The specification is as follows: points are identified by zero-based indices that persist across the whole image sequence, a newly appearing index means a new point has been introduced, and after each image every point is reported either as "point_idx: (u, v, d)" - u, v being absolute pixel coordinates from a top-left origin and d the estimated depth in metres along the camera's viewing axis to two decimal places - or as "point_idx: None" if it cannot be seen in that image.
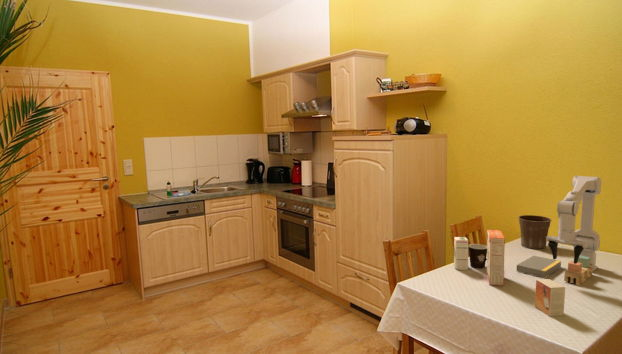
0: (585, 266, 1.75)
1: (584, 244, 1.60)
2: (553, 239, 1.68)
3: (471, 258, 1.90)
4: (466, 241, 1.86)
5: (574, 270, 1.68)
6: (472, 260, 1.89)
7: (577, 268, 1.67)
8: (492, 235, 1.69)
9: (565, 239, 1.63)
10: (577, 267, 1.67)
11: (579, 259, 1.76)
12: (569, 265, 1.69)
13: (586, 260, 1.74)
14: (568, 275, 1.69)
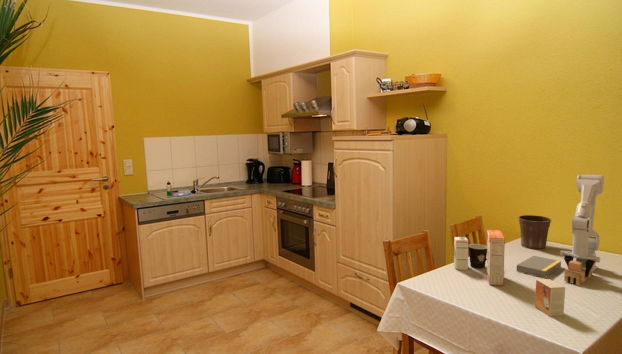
0: (584, 266, 1.74)
1: (597, 259, 1.67)
2: (567, 254, 1.75)
3: (471, 258, 1.90)
4: (466, 241, 1.86)
5: (575, 269, 1.68)
6: (472, 260, 1.89)
7: (578, 267, 1.67)
8: (492, 235, 1.69)
9: (579, 254, 1.70)
10: (578, 266, 1.67)
11: (578, 259, 1.76)
12: (570, 264, 1.70)
13: (585, 260, 1.74)
14: (568, 275, 1.69)
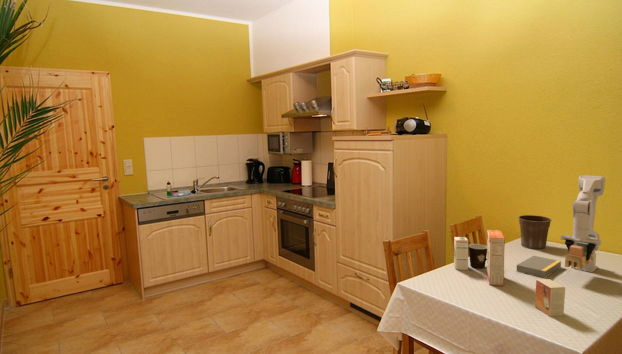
0: (585, 251, 1.73)
1: (598, 242, 1.66)
2: (568, 237, 1.74)
3: (471, 258, 1.90)
4: (466, 241, 1.86)
5: (575, 254, 1.68)
6: (472, 260, 1.89)
7: (579, 251, 1.67)
8: (492, 235, 1.69)
9: (580, 237, 1.70)
10: (579, 250, 1.67)
11: (579, 244, 1.75)
12: (570, 249, 1.69)
13: None
14: (569, 259, 1.68)
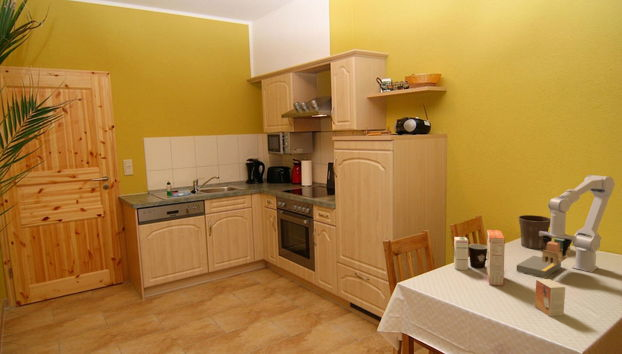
0: (562, 247, 1.80)
1: (574, 238, 1.73)
2: (545, 234, 1.81)
3: (471, 258, 1.90)
4: (466, 241, 1.86)
5: (552, 250, 1.74)
6: (472, 260, 1.89)
7: (555, 248, 1.73)
8: (492, 235, 1.69)
9: (556, 234, 1.76)
10: (555, 247, 1.73)
11: (556, 241, 1.81)
12: (548, 245, 1.76)
13: None
14: (546, 255, 1.75)
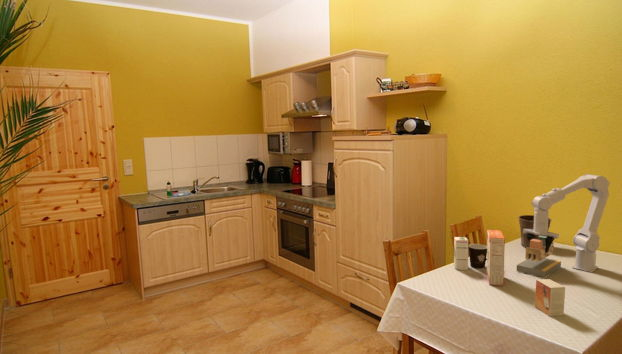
0: (545, 245, 1.85)
1: (556, 235, 1.78)
2: (529, 231, 1.86)
3: (471, 258, 1.90)
4: (466, 241, 1.86)
5: (535, 247, 1.80)
6: (472, 260, 1.89)
7: (538, 245, 1.79)
8: (492, 235, 1.69)
9: (539, 231, 1.82)
10: (538, 244, 1.79)
11: (540, 238, 1.87)
12: (531, 242, 1.81)
13: None
14: (529, 252, 1.80)
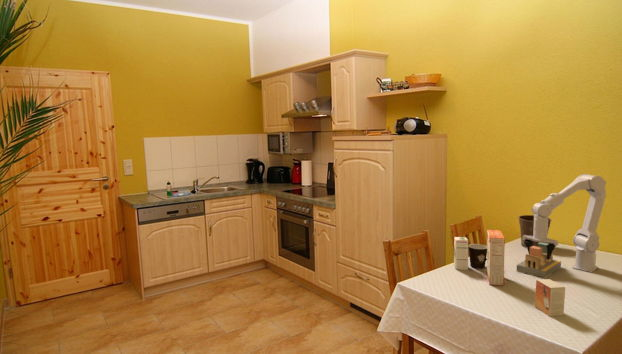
0: (545, 252, 1.86)
1: (555, 242, 1.79)
2: (529, 238, 1.86)
3: (471, 258, 1.90)
4: (466, 241, 1.86)
5: (535, 254, 1.80)
6: (472, 260, 1.89)
7: (537, 252, 1.79)
8: (492, 235, 1.69)
9: (539, 238, 1.82)
10: (537, 251, 1.79)
11: (540, 245, 1.87)
12: (530, 249, 1.81)
13: (546, 246, 1.85)
14: (528, 259, 1.80)
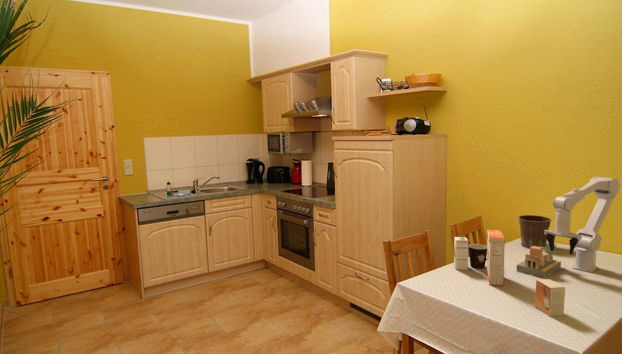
0: (552, 252, 1.85)
1: (579, 236, 1.74)
2: (550, 232, 1.82)
3: (471, 258, 1.90)
4: (466, 241, 1.86)
5: (535, 254, 1.80)
6: (472, 260, 1.89)
7: (538, 252, 1.79)
8: (492, 235, 1.69)
9: (561, 232, 1.77)
10: (538, 251, 1.79)
11: (548, 245, 1.86)
12: (531, 249, 1.81)
13: (554, 247, 1.84)
14: (528, 259, 1.80)
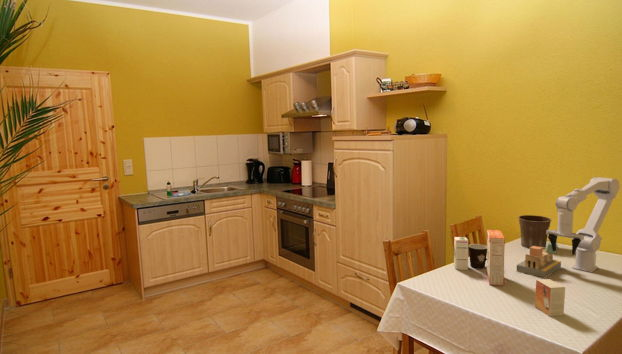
0: (554, 253, 1.85)
1: (581, 237, 1.73)
2: (553, 232, 1.81)
3: (471, 258, 1.90)
4: (466, 241, 1.86)
5: (535, 254, 1.80)
6: (472, 260, 1.89)
7: (538, 252, 1.79)
8: (492, 235, 1.69)
9: (564, 232, 1.77)
10: (538, 251, 1.79)
11: (550, 246, 1.85)
12: (531, 249, 1.81)
13: (556, 247, 1.84)
14: (528, 259, 1.80)
